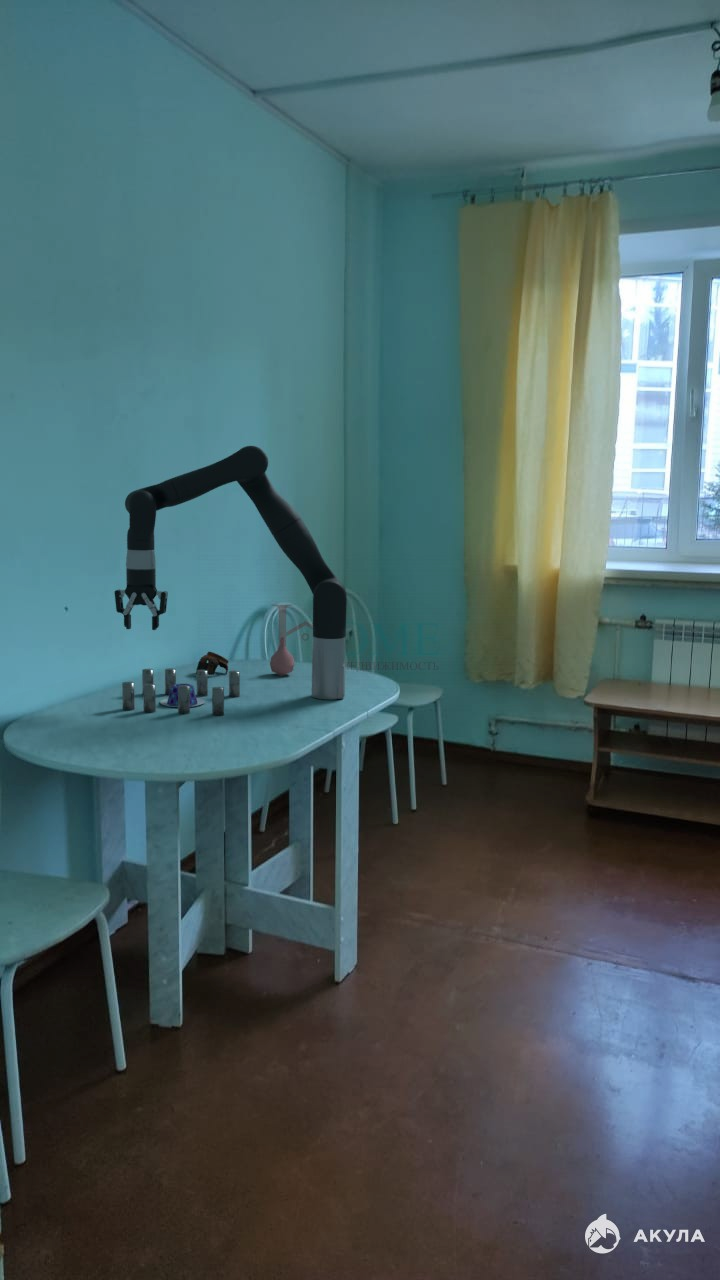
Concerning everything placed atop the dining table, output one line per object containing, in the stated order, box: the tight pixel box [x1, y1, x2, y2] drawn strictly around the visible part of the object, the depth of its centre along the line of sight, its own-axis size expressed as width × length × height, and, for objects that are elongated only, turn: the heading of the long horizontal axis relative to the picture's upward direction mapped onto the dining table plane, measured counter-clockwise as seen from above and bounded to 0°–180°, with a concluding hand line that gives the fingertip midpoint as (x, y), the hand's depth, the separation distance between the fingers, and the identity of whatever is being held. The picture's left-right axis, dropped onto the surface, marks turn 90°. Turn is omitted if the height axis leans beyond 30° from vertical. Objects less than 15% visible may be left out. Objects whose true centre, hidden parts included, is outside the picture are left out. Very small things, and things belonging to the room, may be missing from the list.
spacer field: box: [121, 668, 241, 717], centre depth 249 cm, size 27×25×7 cm
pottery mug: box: [195, 651, 229, 676], centre depth 288 cm, size 12×10×8 cm
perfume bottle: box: [269, 636, 295, 677], centre depth 290 cm, size 8×8×12 cm
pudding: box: [159, 683, 206, 708], centre depth 249 cm, size 12×12×5 cm
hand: (141, 629), depth 247 cm, fingers open, 6 cm apart
